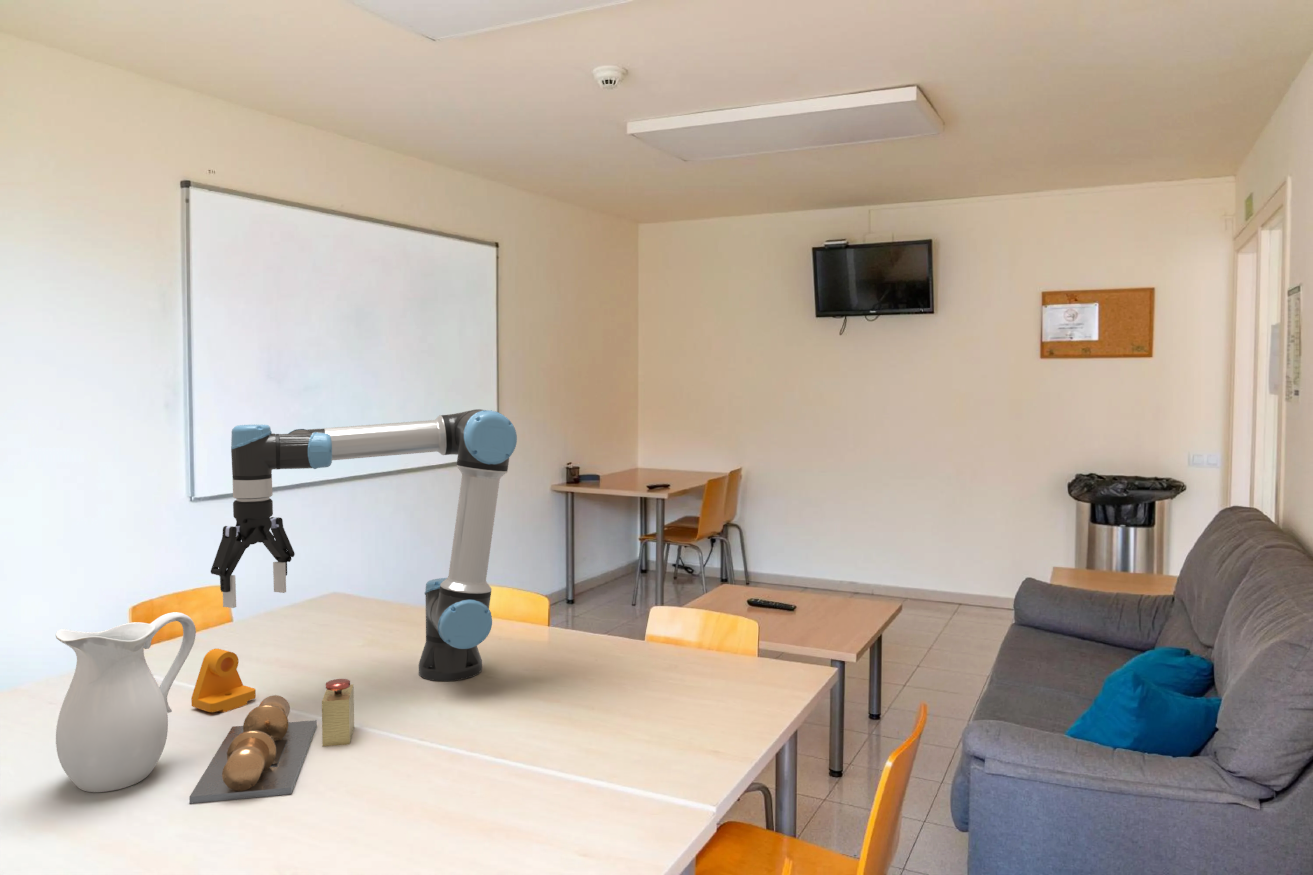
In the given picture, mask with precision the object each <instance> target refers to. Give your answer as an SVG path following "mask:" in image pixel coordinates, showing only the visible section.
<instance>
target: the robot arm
mask: <svg viewBox="0 0 1313 875" xmlns="http://www.w3.org/2000/svg"><path fill="white" fill-rule="evenodd" d="M230 440H231V446H230V448H231V449H230V454H231V475H232V497H233V498H234V499H235V500H234V501H233V502H232V510H233V511H232V512H233V519H235V521H236V524H235V526H232V525H230V526H229V525H225V526H223V527H222V534H221V535H222V537H221V540H220V543H219V544H218V545H219V546H218V549H217V551H216V554H215V557H214V560H213V563H212V566H211V568H210V574H211V575H216V576H219V584H220V586H219V587H220V588H219V589H220V591H221V593H222V607H223V608H230V609H234V608H237V593H236V592H237V590H236V588H237V587H236V585H237V584H236V575H235V574H233V573H234V571H235V570H236V567H237V566H238V564H239V563H240V560H241V559H242V556H243V555H244V553H245V551H246V550H247V549H248V548H249V547H251V545H255V544H257V543H259V544H261V543H262V544H263V546H264V547H265V548H266V549H267V550H268V552H269V553H270V554H271V555H272V557H273V558H274V559H275V560H276V561H273V562H272V570H273V571H272V572H273V574H272V575H273V592H274V593H280V594H281V593H282V594H285V593H287V575H288V562H289V563H290V562H291V561H292V558H294V557H295V555H296V552H295V551H294V549H293V546H292V544H291V542H290V539H289V537H288V535H287V532H286V531H285V528H284V521H283V518H282V517H276V516H275V517H274V516H273V515H274V510H273V509H274V507H273V500H272V498H271V497H272V496H273V495H274V494H273V474H272V471H273V470H295V469H297V470H298V469H299V470H301V469H302V470H304V469H313V470H316V469H323V468H329V467H330V466H331V465H332V463H333V461H342V460H351V459H352V460H355V459H364V458H366V459H367V458H376V457H388V456H397V455H399V456H400V455H412V454H423V453H435V452H436V453H437V452H438V453H439V454H440V455H442V456H448V455H451V456H452V455H455V456H457V458H456V467H457V469H458V470H459V471H460V473H461V481H460V488H459V494H458V495H459V496H458V504H457V509H456V510H457V511H456V518H455V523H454V524H455V525H454V532H453V539H452V540H453V541H452V547H451V556H450V561H449V562H450V563H449V568H448V569H449V570H448V576H447V577H440V578H434V579H430V580H428V581H427V582H426V584H425V591H424V596H425V643H424V647H423V650H422V653H421V656H420V659H419V662H418V675H419V676H420V677H421V678H423V679H426V680H429V681H435V682H436V681H438V682H451V681H452V682H453V681H458V680H459V681H460V680H465V679H469V678H472V677H474V676H475V677H476V676H477V675H479V674H480V673H481V672H482V670H483V660H482V657H481V654H480V651H479V647H478V646H479V645H480V644H482V643H483V642H484V641H485V640H486V639H487V638H488V637H489V635H490V633H491V630H492V626H493V618H492V617H493V616H492V612H491V610H490V604H491V598H492V587H491V586H490V585H489V583H488V582H487V575H488V568H489V562H490V553H491V547H492V538H493V531H494V525H495V524H494V522H495V517H496V508H497V501H498V495H499V494H498V493H499V488H500V480H501V478H502V477H503V476H505V475H506V474H507V473H508V470H509V462H510V458H511V456H512V455H513V454H514V451H515V449H516V447H517V442H518V435H517V431H516V428H515V426H514V424H513V423H512V421H511V420H510V419H509V418H508V417H506V416H505V415H504V414H502V413H500V412H498V411H495V410H488V409H487V410H486V409H480V408H479V409H471V410H466V411H462V412H457V413H456V412H455V413H450V414H442V415H441V414H439V415H438V416H437V417H436V418H435V419H431V420H430V419H429V420H418V421H406V422H405V421H403V422H390V423H377V424H376V423H375V424H366V425H363V424H361V425H349V426H337V427H335V426H334V427H324V428H312V429H311V428H310V429H308V428H307V429H305V428H298V429H293V430H291V431H289V432H288V433H272V430H271V426H270V425H268V424H239V425H235V426H234V427H233V428H232V429H231V439H230Z"/></svg>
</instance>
